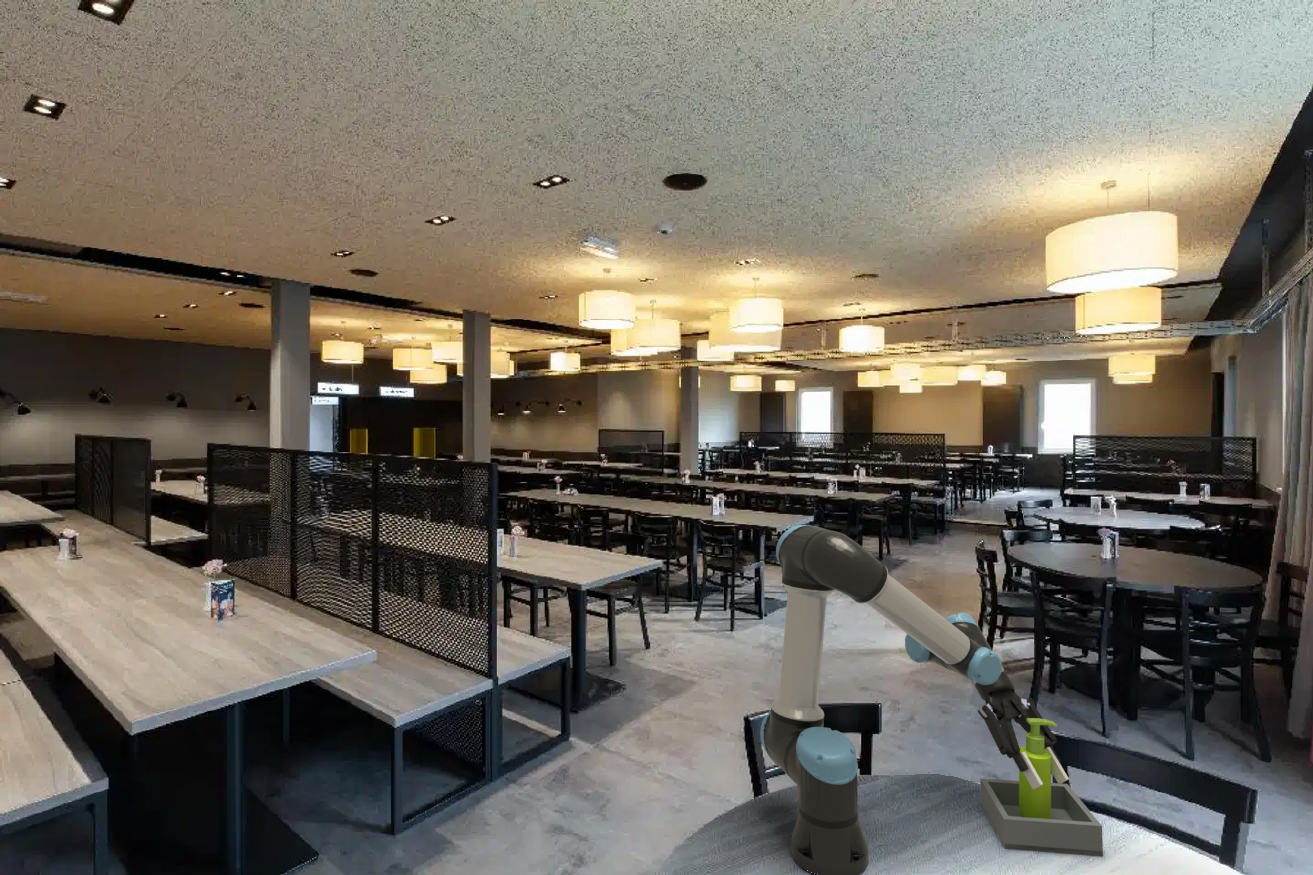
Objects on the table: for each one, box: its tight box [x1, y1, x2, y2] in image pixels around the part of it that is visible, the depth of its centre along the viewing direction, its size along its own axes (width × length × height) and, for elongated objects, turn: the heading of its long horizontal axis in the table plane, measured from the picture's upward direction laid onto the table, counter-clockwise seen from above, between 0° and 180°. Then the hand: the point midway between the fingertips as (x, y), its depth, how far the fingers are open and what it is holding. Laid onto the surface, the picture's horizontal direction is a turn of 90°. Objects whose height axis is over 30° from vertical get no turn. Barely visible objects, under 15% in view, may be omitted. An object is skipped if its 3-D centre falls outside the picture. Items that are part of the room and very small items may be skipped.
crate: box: [979, 778, 1104, 857], centre depth 140 cm, size 18×16×6 cm
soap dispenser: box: [1018, 718, 1058, 819], centre depth 140 cm, size 6×7×20 cm
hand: (1050, 783), depth 137 cm, fingers closed on soap dispenser, 6 cm apart
